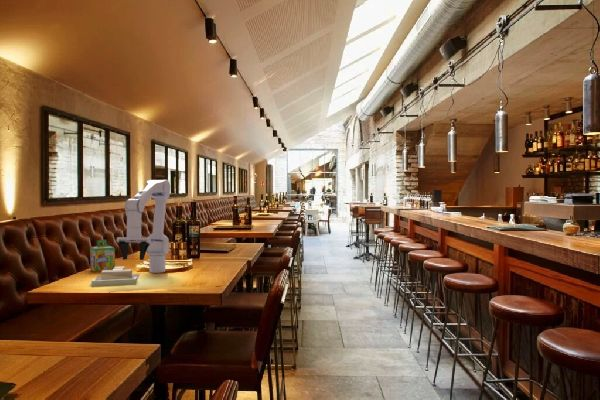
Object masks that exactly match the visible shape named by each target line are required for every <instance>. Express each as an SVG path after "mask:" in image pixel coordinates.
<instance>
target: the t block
mask: <svg viewBox="0 0 600 400" xmlns="http://www.w3.org/2000/svg"><path fill="white" fill-rule="evenodd" d="M100 272H101V273H100V276H101V280H116V279H132V274H133V268H132V269H129V268H128V269H125V266H115V267H114V269H113V270H102V271H100Z"/></svg>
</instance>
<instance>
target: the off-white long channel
mask: <svg viewBox="0 0 600 400" xmlns="http://www.w3.org/2000/svg"><path fill="white" fill-rule="evenodd" d="M91 283H92V286H91V287H99V286H100V287H102V286H103V285H105V286H120V285H121V286H123V285H122V284H124V285H136V284H137V283H138V280H137V277H134V279H116V280H96V279H95V278H93V279H92V280H91Z"/></svg>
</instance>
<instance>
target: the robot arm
mask: <svg viewBox="0 0 600 400" xmlns="http://www.w3.org/2000/svg"><path fill="white" fill-rule="evenodd" d="M170 196H171V184H170V181H169V180H168V179H148V180H147V181H146V183H145V188H144V189H142V190H138V191H137V192H136V194H135V195H134V196H133V197H132V198H128V199H126V201H125V202H124V210H125V216H126V236H125V237H120V236H119V237H116V243H117V246H118V248H119V251H120V253H121V256H122V260H124V261H125V260H128V251H129V249H128V248H129V245H130V243H138V248H139V260H140V261H144V260H145V256H146V254H147V255H148V257H149V260H148V262H149V263H148V264H149V266H148V267H149V272H148V273H150V274H151V273H152V274H157V273H159V274H160V273H165V272H166V255H167V254H168V252H169V250H170V244H169V243H170V242H169V240H170V239H169V238H168V237H169V236H167V235H165V234H164V230H165V219H166V211H167V210H166V207H167V200H168V199H169V198H170ZM150 199H154V201H155V204H154V213H153V214H154V215H153V221H152V222H153V225H152V233H151V234H150V235H148V236H147V237H142V218H143V217H142V215H143V212H144V211H145V207H146V204H147V203H149V201H150Z"/></svg>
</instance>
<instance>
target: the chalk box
mask: <svg viewBox="0 0 600 400" xmlns="http://www.w3.org/2000/svg"><path fill="white" fill-rule="evenodd" d="M101 243H103V244H102V245H101ZM89 257H90V258H89V259H90V271H91V272H102V271H103V270H113V269H114V267H116V248H115V247H114V246H110V245H108V242H107V239H100V240H99V239H98V240H96V246H91V247H90V248H89Z"/></svg>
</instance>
